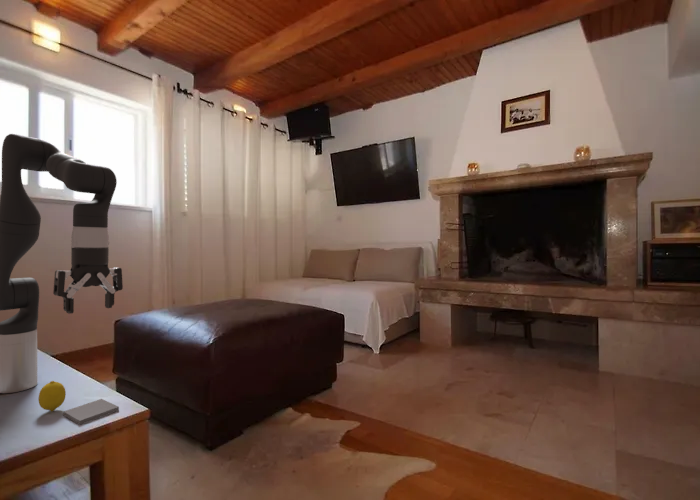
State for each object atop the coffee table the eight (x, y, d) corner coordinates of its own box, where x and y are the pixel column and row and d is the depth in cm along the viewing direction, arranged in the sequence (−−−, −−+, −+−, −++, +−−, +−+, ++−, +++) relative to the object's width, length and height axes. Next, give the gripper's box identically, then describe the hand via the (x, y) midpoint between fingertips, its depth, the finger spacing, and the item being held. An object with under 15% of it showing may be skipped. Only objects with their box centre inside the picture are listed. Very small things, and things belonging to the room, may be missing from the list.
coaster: (63, 415, 94) (63, 411, 94) (101, 402, 101) (101, 398, 101) (79, 424, 89) (79, 420, 89) (118, 410, 97) (118, 406, 97)
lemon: (62, 404, 100) (62, 375, 99) (68, 410, 96) (68, 380, 96) (36, 411, 95) (36, 381, 95) (41, 418, 92) (41, 387, 92)
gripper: (113, 245, 98) (112, 304, 99) (48, 244, 86) (48, 312, 87) (128, 246, 95) (127, 308, 95) (62, 246, 82) (62, 317, 83)
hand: (89, 310), depth 91 cm, fingers open, 8 cm apart
